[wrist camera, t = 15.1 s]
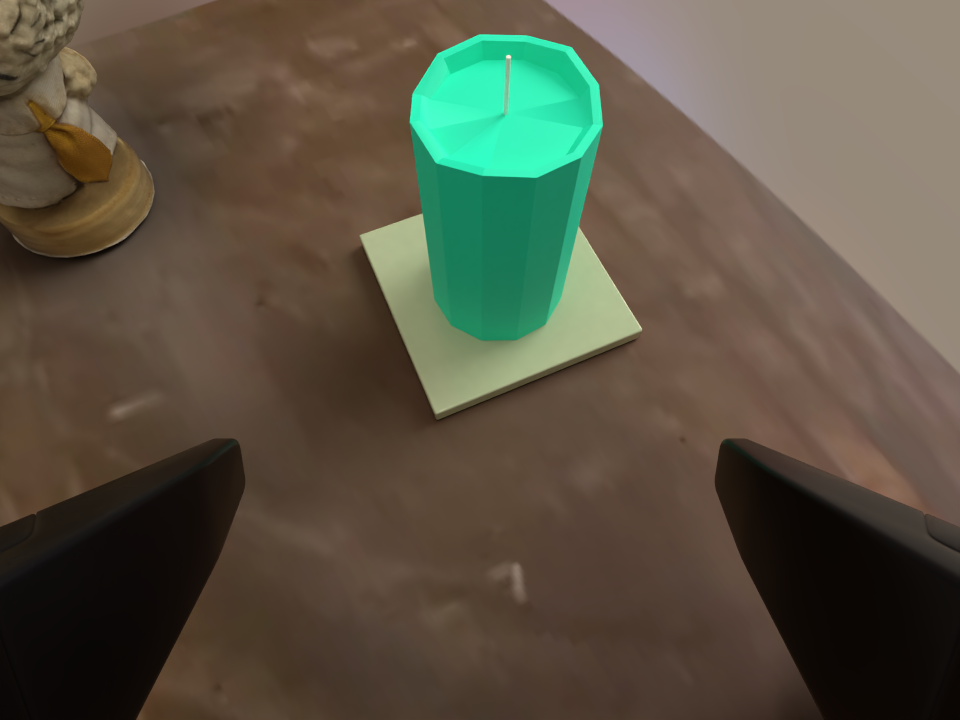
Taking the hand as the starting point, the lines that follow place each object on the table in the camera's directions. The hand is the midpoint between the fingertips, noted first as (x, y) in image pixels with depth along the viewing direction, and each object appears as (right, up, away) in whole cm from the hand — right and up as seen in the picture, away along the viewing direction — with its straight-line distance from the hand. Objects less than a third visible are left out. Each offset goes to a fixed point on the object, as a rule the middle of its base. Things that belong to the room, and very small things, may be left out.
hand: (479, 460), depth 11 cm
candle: (+1, +5, +17) cm, 18 cm away
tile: (+1, +5, +17) cm, 18 cm away
